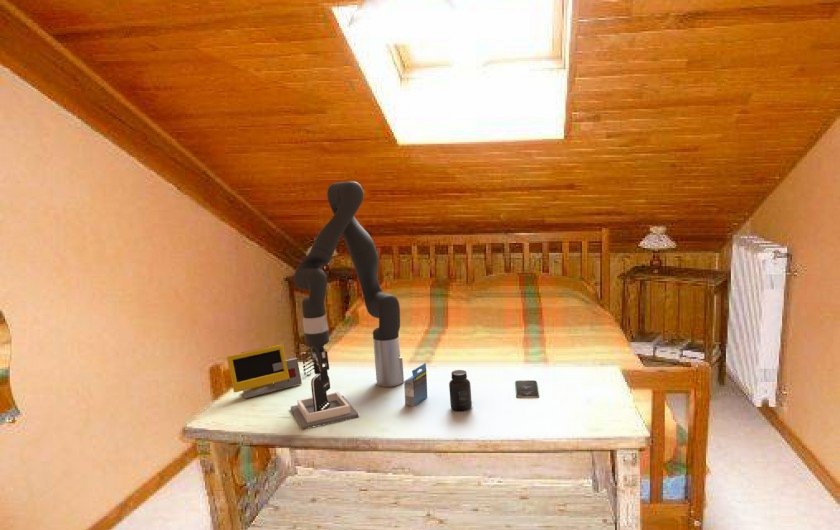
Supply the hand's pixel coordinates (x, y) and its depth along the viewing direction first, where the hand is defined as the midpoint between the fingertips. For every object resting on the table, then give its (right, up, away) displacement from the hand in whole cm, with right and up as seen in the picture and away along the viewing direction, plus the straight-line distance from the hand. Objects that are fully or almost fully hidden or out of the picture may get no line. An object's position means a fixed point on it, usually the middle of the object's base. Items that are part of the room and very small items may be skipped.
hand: (321, 377), depth 199 cm
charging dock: (+1, -12, +2) cm, 12 cm away
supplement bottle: (+45, -10, -1) cm, 46 cm away
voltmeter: (-14, -7, +35) cm, 38 cm away
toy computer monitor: (-26, -10, +24) cm, 37 cm away
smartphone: (+68, -7, +11) cm, 69 cm away
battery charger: (0, -11, +2) cm, 11 cm away
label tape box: (+31, -9, +7) cm, 33 cm away
